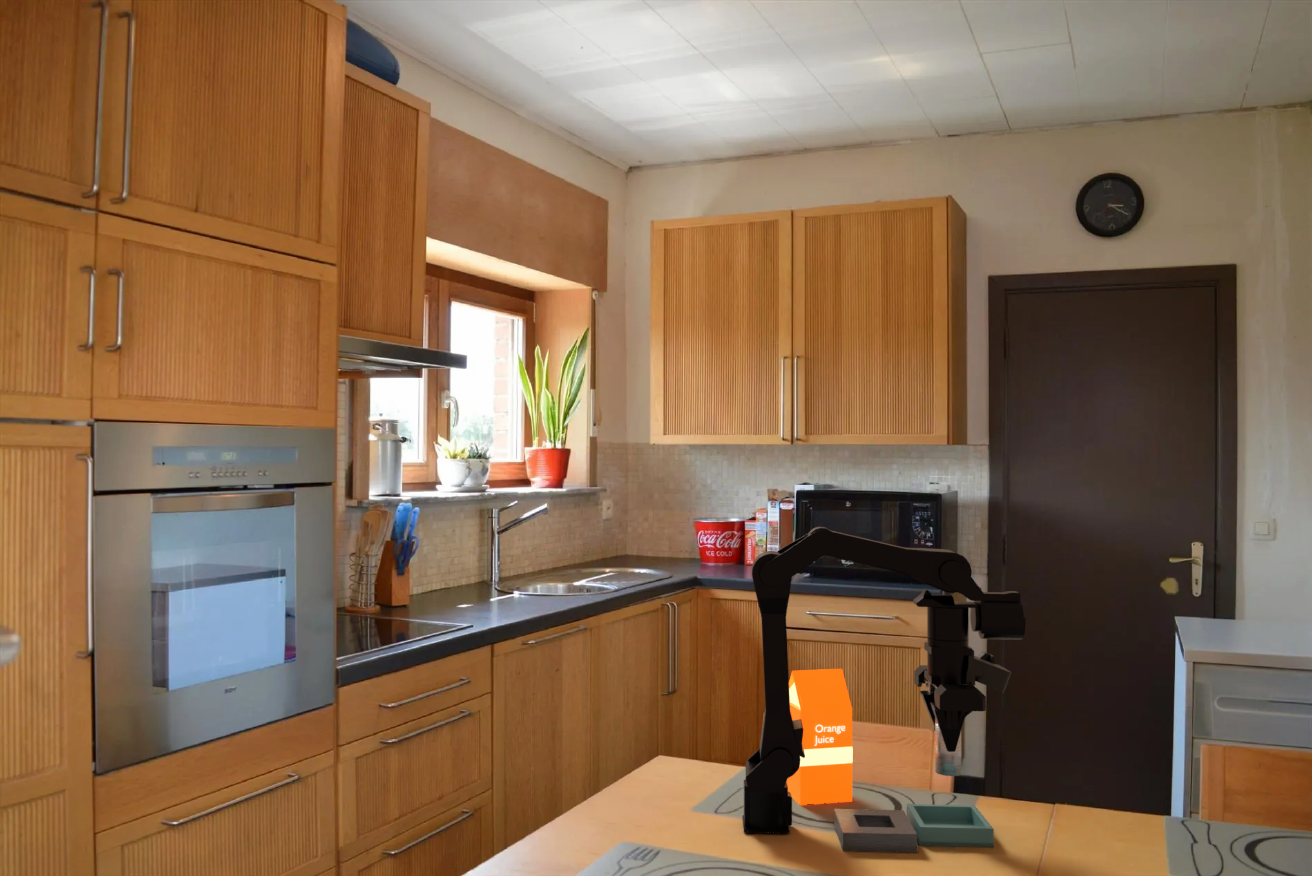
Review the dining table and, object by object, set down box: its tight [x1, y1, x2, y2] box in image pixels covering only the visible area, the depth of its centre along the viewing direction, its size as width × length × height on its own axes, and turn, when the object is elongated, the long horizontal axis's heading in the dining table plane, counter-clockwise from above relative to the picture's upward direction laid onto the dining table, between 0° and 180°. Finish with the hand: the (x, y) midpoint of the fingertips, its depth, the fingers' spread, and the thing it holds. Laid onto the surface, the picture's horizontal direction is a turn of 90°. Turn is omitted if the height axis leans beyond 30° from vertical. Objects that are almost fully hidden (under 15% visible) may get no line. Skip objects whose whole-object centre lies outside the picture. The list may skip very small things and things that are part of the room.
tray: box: [906, 803, 995, 848], centre depth 149 cm, size 10×10×2 cm
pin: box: [934, 718, 962, 777], centre depth 149 cm, size 4×4×8 cm
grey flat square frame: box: [833, 808, 918, 854], centre depth 147 cm, size 10×10×2 cm
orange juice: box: [787, 668, 854, 806], centre depth 166 cm, size 8×9×20 cm
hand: (948, 747), depth 149 cm, fingers closed on pin, 4 cm apart
